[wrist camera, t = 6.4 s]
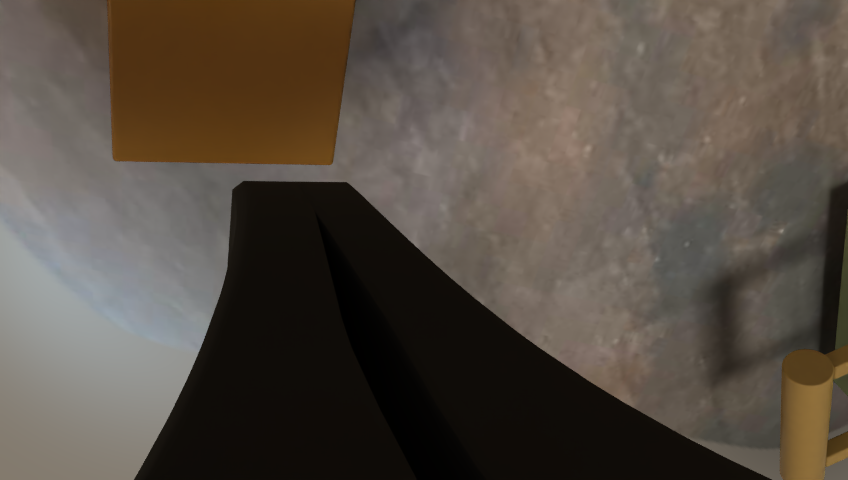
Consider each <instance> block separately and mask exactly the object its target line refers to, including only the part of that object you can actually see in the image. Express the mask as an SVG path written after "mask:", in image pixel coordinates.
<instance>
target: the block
mask: <svg viewBox="0 0 848 480" xmlns="http://www.w3.org/2000/svg"><path fill="white" fill-rule="evenodd" d="M355 2H356V0H107V11H108V40H109V68H110V97H111V125H112V154H113V159H114V160H115V161H134V162H190V163H245V164H301V165H331V164H332V163H333V158H334V151H335V144H336V137H337V130H338V123H339V116H340V109H341V102H342V95H343V87H344V80H345V73H346V66H347V59H348V52H349V45H350V38H351V31H352V24H353V16H354V9H355Z"/></svg>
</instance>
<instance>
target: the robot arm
mask: <svg viewBox="0 0 848 480" xmlns="http://www.w3.org/2000/svg"><path fill="white" fill-rule="evenodd" d="M134 480H772V479H769V478H767V477H765V476H763V475H761V474H759V473H757V472H754V471H752V470H750V469H748V468H746V467H744V466H742V465H740V464H737V463H735V462H733V461H731V460H729V459H727V458H725V457H723V456H721V455H719V454H717V453H715V452H713V451H711V450H709V449H708V448H706V447H703V446H702V445H700V444H698V443H696V442H694V441H692V440H690V439H688V438H686V437H684V436H682V435H681V434H679V433H677V432H675V431H673V430H672V429H670V428H668V427H666V426H665V425H663V424H661V423H659V422H657V421H656V420H654V419H652V418H650V417H649V416H647V415H645V414H643V413H641V412H640V411H638V410H636V409H634V408H632V407H631V406H629V405H627V404H625V403H624V402H622V401H620V400H619V399H617V398H615V397H614V396H612V395H610V394H609V393H607V392H606V391H604V390H602V389H601V388H599V387H597V386H596V385H594V384H593V383H591V382H589V381H588V380H586V379H585V378H583V377H582V376H580V375H579V374H577V373H576V372H574V371H573V370H571V369H570V368H568V367H567V366H565V365H564V364H562V363H561V362H559V361H558V360H557V359H555V358H554V357H552V356H551V355H549V354H548V353H546V352H545V351H543V350H542V349H540V348H539V347H537V346H536V345H535V344H533V343H532V342H530V341H529V340H528V339H526V338H525V337H524V336H522V335H521V334H519V333H518V332H517V331H515V330H514V329H513V328H512V327H510V326H509V325H508V324H506V323H505V322H504V321H503V320H501V319H500V318H499V317H498V316H496V315H495V314H494V313H493V312H491V311H490V310H489V309H487V308H486V307H485V306H484V305H482V304H481V303H480V302H479V301H477V300H476V299H475V298H474V297H472V296H471V295H470V294H469V293H468V292H467V291H465V290H464V289H463V288H462V287H461V286H459V285H458V284H457V283H456V282H455V281H454V280H452V279H451V278H450V277H449V276H448V275H447V274H446V273H444V272H443V271H442V270H441V269H440V268H439V267H438V266H436V265H435V264H434V263H433V262H432V261H431V260H430V259H429V258H428V257H426V256H425V255H424V254H423V253H422V252H421V251H420V250H419V249H418V248H417V247H416V246H415V245H413V244H412V243H411V242H410V241H409V240H408V239H407V238H406V237H405V236H404V235H403V234H402V233H401V232H400V231H399V230H397V229H396V228H395V227H394V226H393V225H392V224H391V223H390V222H389V221H388V220H387V219H386V218H385V217H384V216H383V215H382V214H381V213H380V212H379V211H378V210H377V209H375V208H374V207H373V206H372V205H371V204H370V203H369V202H368V201H367V200H366V199H365V198H364V197H363V196H362V195H361V194H360V193H359V192H358V191H356V190H355V189H354V188H353V187H352V186H351V185H350V184H348V183H347V182H276V181H243V182H242V183H240V184H239V185H238V186H237V187H235V188H234V189H233V190H232V206H231V221H230V237H229V253H228V268H227V272H226V276H225V280H224V284H223V288H222V291H221V294H220V297H219V300H218V303H217V305H216V308H215V311H214V314H213V316H212V319H211V322H210V325H209V328H208V330H207V333H206V336H205V339H204V341H203V344H202V346H201V349H200V351H199V353H198V356H197V358H196V361H195V363H194V365H193V368H192V370H191V372H190V374H189V376H188V379H187V381H186V383H185V385H184V387H183V389H182V391H181V393H180V395H179V397H178V400H177V401H176V403H175V406H174V408H173V410H172V412H171V414H170V416H169V418H168V419H167V421H166V423H165V425H164V427H163V429H162V430H161V432H160V434H159V436H158V438H157V440H156V441H155V443H154V445H153V447H152V449H151V450H150V452H149V454H148V456H147V458H146V460H145V461H144V463H143V465H142V467H141V469H140V470H139V472H138V474H137V475H136V477H135V479H134Z"/></svg>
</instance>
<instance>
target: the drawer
mask: <svg viewBox="0 0 848 480" xmlns="http://www.w3.org/2000/svg"><path fill="white" fill-rule="evenodd" d="M833 381H834V382H835V383H836V384H837V385H838V386H839V387H840V388H841V390H842V391H843V392H844V393H845V394H846V395H847V396H848V211H847V222H846V233H845V244H844V255H843V266H842V277H841V288H840V299H839V310H838V321H837V332H836V343H835V350H834V351H832V352H830V353H827V354H825V355H824V354H822V353H820V352H818V351H815V350H810V349H800V350H796V351H793V352H791V353H790V354H788V355H787V356H786V357H785V358H784V360H783V363H782V386H781V431H780V474H781V477H782V478H783V480H824V475H825V466H826V467H828V466H830V465H832V464H834V463H836V462H838V461H841V460H843V459H845V458H847V457H848V431H847V432H845V433H843V434H841V435H839V436H836V437H834V438H832V439H830V440H828V432H829V421H830V411H831V400H832V389H833Z"/></svg>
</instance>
